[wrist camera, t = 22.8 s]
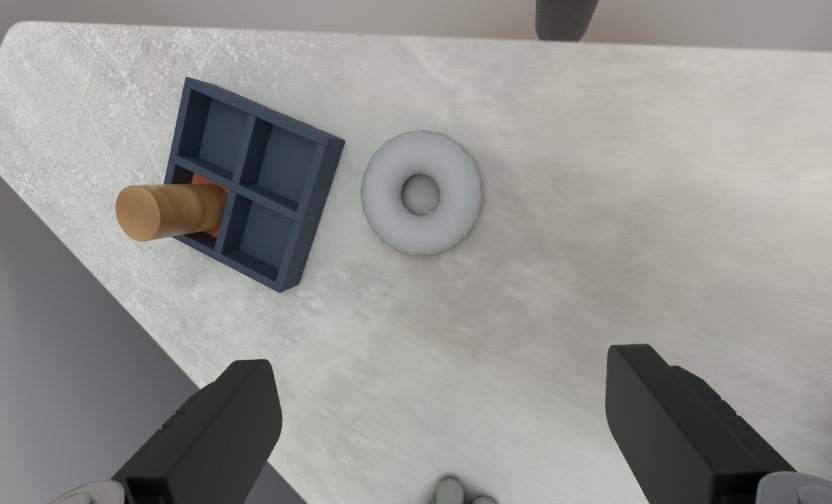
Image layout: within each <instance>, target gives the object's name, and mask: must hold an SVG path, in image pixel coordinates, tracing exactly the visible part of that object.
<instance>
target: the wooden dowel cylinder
mask: <svg viewBox="0 0 832 504" xmlns="http://www.w3.org/2000/svg"><path fill="white" fill-rule="evenodd" d="M227 197H228V194H227V192H226V191H225V190H224V189H223V188H222V187H220V186H219V185H216V184H213V183H198V184H162V185H132V186H128V187H126V188H125V189H123V190H122V191H121V192H120V194H119V196H118V198H117V201H116V215H117V219H118V222H119V224H120V226H121V228H122V229H123V231H124V232H125V233H126V234H127V235H128V236H129V237H131V238H132V239H134V240H137V241H149V240H155V239H161V238H167V237H172V236H178V235H184V234H190V233H195V232H201V231H207V230H213V229H218V228H220V225H221V221H222V217H223V213H224V209H225V205H226V201H227Z"/></svg>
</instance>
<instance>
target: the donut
mask: <svg viewBox="0 0 832 504" xmlns="http://www.w3.org/2000/svg"><path fill="white" fill-rule="evenodd" d="M415 174H424V175H428V176H429V177H431V178H433V180H434V181H435V182H436V183H437V186H438V188H439V193H440V198H439V203H438V205H437V207H436V208H435V209H434V210H433V211H432V212H431V213H429V214H426V215H415V214H413V213H411V212H410V211H409V210H408V209H407V208H406V207H405V206H404V203H403V201H402V195H401V192H402V187H403V185H404V183H405V181H406V180H407V179H408V178H409V177H411V176H413V175H415ZM361 196H362V205H363V211H364V213H365V215H366V218H367V220H368V222H369V225H370V227H371V228H372V229H373V230H374V232H375V233H376V234H377V235H378V236H379V238H380V239H381V240H382V241H383V242H385V243H386V244H388V245H389V246H391V247H392V248H394V249H395V250H397V251H400V252H403V253H407V254H411V255H414V256H420V255H435V254H438V253H440V252H443V251H446V250H448V249H451V248H453V247H454V246H455V245H456V244H458V243H459V242H460V241H461V240H462V239H464V238H465V237H466V236H467V235H468V233H469V232H470V230H471V229H472V227H473V225H474V224H475V222H476V221H477V219H478V215H479V211H480V207H481V203H482V188H481V178H480V176H479V173H478V171H477V168H476V166H475V163H474V161H473V159H472V158H471V157H470V156H469V154H468V153H467V152H466V151H465V150H464V149H463V147H462V146H461V145H460V144H458V143H457V142H455V141H453V140H452V139H450V138H448V137H447V136H445V135H443V134H439V133H434V132H429V131H424V130H422V131H415V132H408V133H403V134H401V135H399V136H397V137H395V138H393V139H391V140H389V141H387V142H385V143H384V144H383V145H382V146H381V147H380V149H379V150H378V151H377V152H376V153H375V154H374V155H373V156H372V158H371V160H370V162H369V164H368V166H367V168H366V170H365V172H364V176H363V182H362V187H361Z"/></svg>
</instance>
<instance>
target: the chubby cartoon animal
mask: <svg viewBox="0 0 832 504" xmlns="http://www.w3.org/2000/svg"><path fill="white" fill-rule="evenodd" d="M463 501H464V490H463V487H462V485H461V484H460V483H459V482H458V481H457V480H455V479H452V478H448V479H444V480H442V481H441V482H440V483H439V484H438V486H437V490H436V500H435V501H432V502H431V503H430V504H463ZM473 504H496V503H495V502H494V501H493V500H492V499H490V498H487V497H479V498H477V499H475V500H474V502H473Z"/></svg>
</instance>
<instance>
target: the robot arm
mask: <svg viewBox="0 0 832 504" xmlns="http://www.w3.org/2000/svg"><path fill="white" fill-rule="evenodd" d="M605 408H606V416H607V421H608V425H609V428H610V431H611V433H612V435H613V437H614V439H615V441H616V443H617V444H618V446H619V448H620V450H621V452H622V454H623V456H624V457H625V459H626V461H627V463H628V465H629V467H630V469H631V470H632V472H633V474H634V476H635V478H636V480H637V482H638V483H639V485H640V487H641V489H642V491H643V493H644V494H645V496H646V498H647V500H648V502H649V504H832V482H830V481H828V480H825V479H823V478H819V477H816V476H813V475H809V474H804V473H798V472H797V471H796V470H795V469H794V468H793V467H792V466H791V465H790V464H789V463H788V462H787V461H786V460H785V459H784V458H783V457H782V456H781V455H780V454H779V453H778V452H777V451H776V450H775V449H774V448H773V447H772V446H770V445H769V444H768V443H767V442H766V441H765V440H764V439H763V438H762V437H761V436H760V435H759V434H758V433H757V432H756V431H755V430H754V429H753V428H752V427H751V426H750V425H749V424H748V423H747V422H746V421H745V420H744V419H743V418H742V417H741V416H737V415H736V411H735V410H734V409H733V408H732V407H731V406H730V405H729V404H728V403H726V402H725V401H724V400H721V397H720V396H719V395H718V394H717V393H716V392H715V391H714V390H713V389H712V388H711V387H710V386H709V385H708V384H707V383H706V382H705V381H704V380H703V379H701V378H699V377H698V376H696V375H694V374H692V373H690V372H689V371H687V370H685V369H683V368H681V367H680V366H669V365H668V364H667V363H666V362H665V361H664V360H663V359H662V357H661V356H660V355H659V354H658V353H657V352H656V351H655V350H654V349H653V348H652V347H651V346H650V345H648V344H629V345H611V346H610V348H609V350H608V356H607V378H606V400H605ZM281 429H282V411H281V406H280V401H279V397H278V392H277V388H276V383H275V379H274V374H273V370H272V366H271V364H270V362H269V361H268V360H266V359H258V360H237V361H234V362H232V363H231V364H230V365H229V366H228V367H227V369H226V370H225V371H224V372H223V373H222V374H221V375H220V376H219V377H218V378H217V379H216V380H215V381H214V382H212V383H210V384H208V385H207V386H205V387H204V388H202V389H201V390H199V391H198V392H196V393H195V394H193V395H192V396H190V398H188V400H187V401H186V402H185V403H184V404H183V405H182V406H181V407H180V408H179V409H178V410H177V411H176V414H175V415H172V416H171V417H170V418H169V419H168V420H167V421H166V422H165V423H164V424H163V425H162V429H158V430H157V432H155V434H154V435H153V436H152V437H151V438H150V439H149V440H148V441H147V442H146V443H145V444H144V445H143V446H142V447H141V448H140V449H139V450H138V451H137V452H136V453H135V454H134V455H133V456H132V457H131V458H130V459H129V461H127V463H125V465H124V466H123V467H122V468H121V469H120V470H119V471H118V472H117V473H116V474H115V475H114V476H113V477H112V478H111V479H110V480H99V481H95V482H91V483H87V484H84V485H82V486H79V487H77V488H74V489H72V490H70V491H68V492H66V493H64V494H63V495H61V496H59V497H57V498H56V499H54V500H52V501H51V502H50V503H48V504H243V503H244V502H245V500H246V498H247V496H248V494H249V492H250V491H251V489H252V487H253V485H254V483H255V481H256V480H257V478H258V476H259V474H260V472H261V471H262V469H263V467H264V465H265V463H266V461H267V460H268V458H269V456H270V454H271V452H272V451H273V449H274V447H275V445H276V443H277V441H278V439H279V437H280V433H281Z"/></svg>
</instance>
